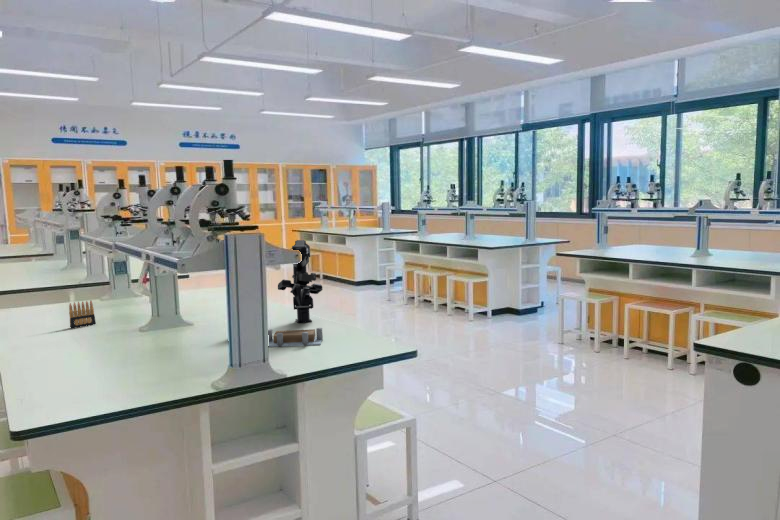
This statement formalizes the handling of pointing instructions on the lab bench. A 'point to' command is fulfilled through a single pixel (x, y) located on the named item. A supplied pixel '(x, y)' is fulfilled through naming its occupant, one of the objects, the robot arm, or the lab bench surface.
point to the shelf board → (295, 335)
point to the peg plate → (304, 342)
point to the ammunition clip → (81, 315)
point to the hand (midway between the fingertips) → (300, 305)
